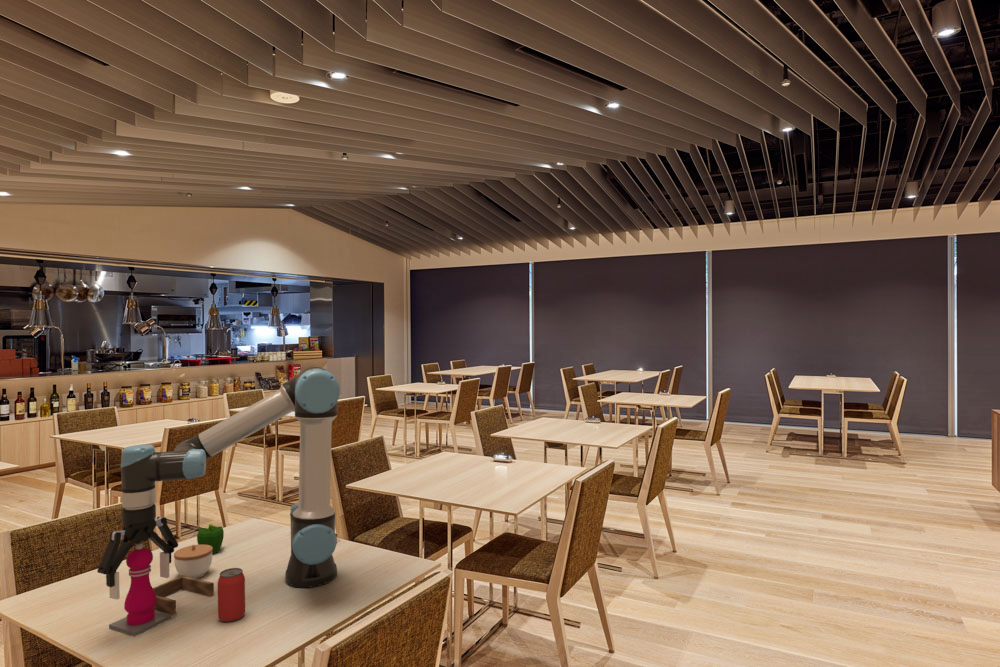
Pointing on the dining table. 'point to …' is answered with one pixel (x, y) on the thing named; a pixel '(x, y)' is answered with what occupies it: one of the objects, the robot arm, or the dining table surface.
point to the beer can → (231, 595)
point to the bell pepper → (211, 537)
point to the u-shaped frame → (176, 585)
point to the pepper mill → (140, 587)
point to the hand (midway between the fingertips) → (140, 587)
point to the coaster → (138, 629)
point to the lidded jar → (193, 560)
